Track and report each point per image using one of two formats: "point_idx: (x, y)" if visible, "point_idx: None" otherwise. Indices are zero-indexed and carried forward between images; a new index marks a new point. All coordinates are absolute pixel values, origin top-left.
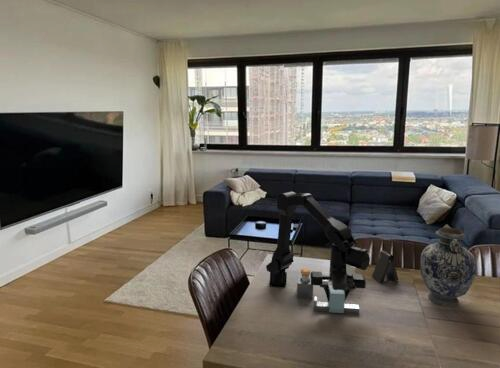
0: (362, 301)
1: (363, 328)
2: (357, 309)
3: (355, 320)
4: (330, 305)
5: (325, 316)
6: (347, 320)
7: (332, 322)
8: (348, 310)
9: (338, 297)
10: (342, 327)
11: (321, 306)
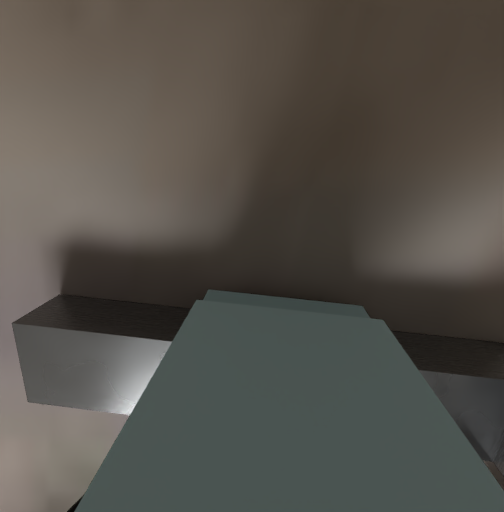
0: (27, 463)
1: (24, 10)
2: (40, 320)
3: (103, 181)
4: (392, 348)
5: (416, 244)
6: (187, 176)
7: (372, 122)
8: (147, 320)
9: (279, 496)
10: (274, 9)
11: (465, 372)
